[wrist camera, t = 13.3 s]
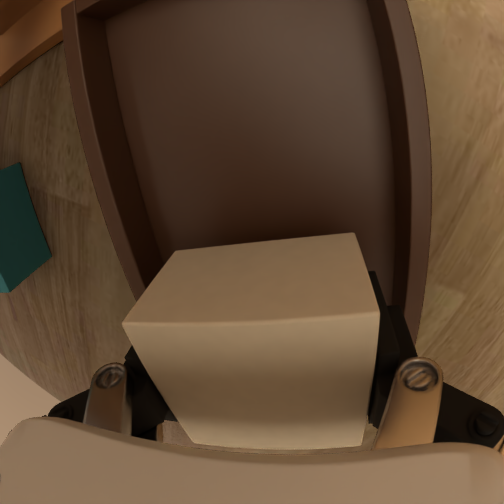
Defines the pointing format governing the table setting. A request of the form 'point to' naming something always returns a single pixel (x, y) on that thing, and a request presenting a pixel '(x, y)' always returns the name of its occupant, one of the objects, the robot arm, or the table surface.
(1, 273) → the teal square block
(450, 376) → the table surface
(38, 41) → the stand
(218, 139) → the dark brown rectangular tray
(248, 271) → the cream square block
